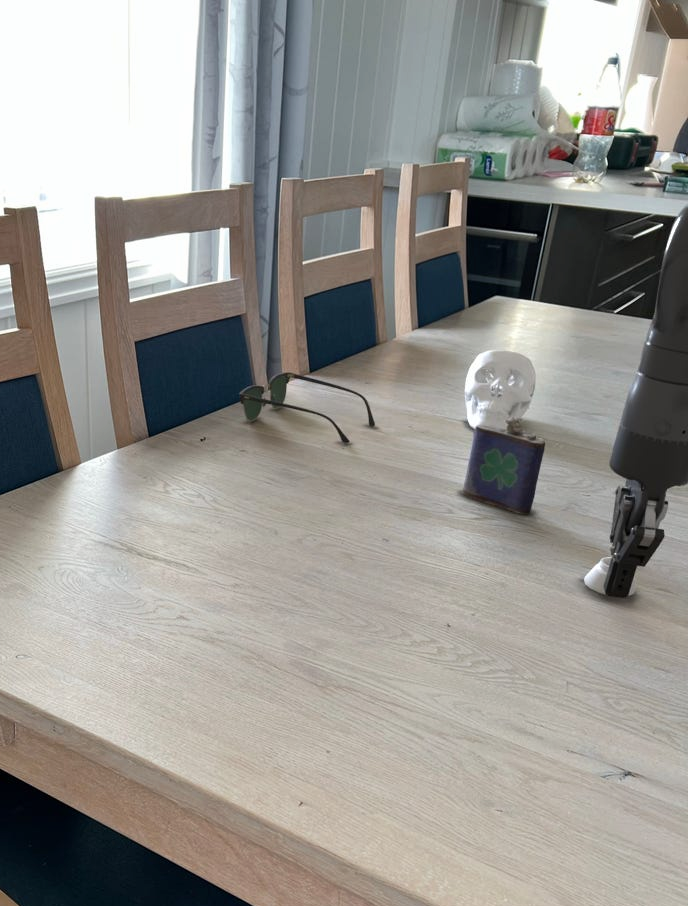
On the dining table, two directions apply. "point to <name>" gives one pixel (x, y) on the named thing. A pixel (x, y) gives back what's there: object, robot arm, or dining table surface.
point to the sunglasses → (278, 387)
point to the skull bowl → (499, 388)
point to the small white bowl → (602, 577)
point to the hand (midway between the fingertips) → (614, 594)
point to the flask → (504, 466)
